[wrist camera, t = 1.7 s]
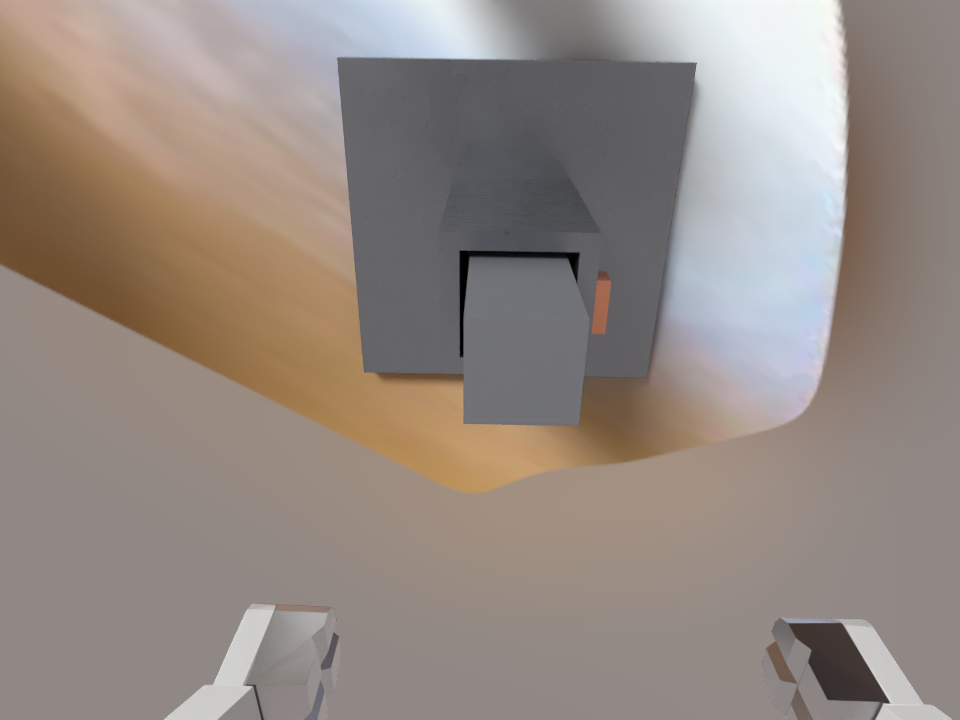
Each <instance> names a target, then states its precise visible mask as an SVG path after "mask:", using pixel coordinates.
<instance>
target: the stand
mask: <svg viewBox="0 0 960 720" xmlns="http://www.w3.org/2000/svg"><path fill="white" fill-rule="evenodd" d="M337 60H338V72H339V84H340V95H341V107H342V119H343V131H344V142H345V154H346V166H347V178H348V189H349V201H350V213H351V225H352V236H353V248H354V260H355V272H356V283H357V295H358V307H359V319H360V330H361V342H362V354H363V365H364V372H375V373H428V374H464V309H465V299H466V289H467V279H468V269H469V259H470V251H525V252H566V255H567V258H568V260H569V263H570V266H571V269H572V272H573V274H574V277H575V280H576V283H577V286H578V288H579V291H580V294H581V297H582V300H583V302H584V305H585V308H586V311H587V314H588V317H589V319H590V323H589V333H588V342H587V352H586V362H585V371H584V376H586V377H639V378H647V373H648V366H649V360H650V354H651V347H652V341H653V335H654V329H655V322H656V316H657V310H658V303H659V297H660V291H661V284H662V278H663V272H664V266H665V259H666V253H667V247H668V240H669V234H670V228H671V221H672V215H673V209H674V202H675V196H676V190H677V184H678V177H679V171H680V165H681V158H682V152H683V146H684V139H685V133H686V127H687V120H688V114H689V108H690V102H691V95H692V89H693V83H694V76H695V70H696V64H697V63H693V62H651V61H582V60H514V59H445V58H376V57H339V58H337Z"/></svg>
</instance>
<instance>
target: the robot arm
mask: <svg viewBox="0 0 960 720" xmlns="http://www.w3.org/2000/svg"><path fill="white" fill-rule="evenodd" d="M336 621H337V619H336V613H335V608H333V607H320V606H302V605H283V604H256V603H255V604H254V603H253V604H251V606H250V607H249V608H248V609H247V610H246V612H245V614H244V616H243V619H242V621H241V623H240V625H239V628H238V630H237V633H236V634H235V637H234V639H233V641H232V643H231V646H230V648H229V650H228V652H227V655H226V657H225V659H224V661H223V664H222V666H221V668H220V670H219V673H218V675H217V677H216V679H215V682H214V684H213V685H204V686H203V687H202V688H200V689H199V690H198V691H197V692H196V693H195V694H193V695H192V696H191V697H190V698H189V699H187V700H186V701H185V702H184V703H183V704H182V705H180V706H179V707H178V708H177V709H176V710H174V711H173V712H172V713H171V714H170V715H169V716H167V717H166V718H165V719H164V720H327V718H328V710H327V703H326V699H327V698H328V697H329V696H330V695H331V694H332V693H333V692H334V690H335V686H336V682H337V677H338V671H339V663H340V641H339V636H338V635H336V634H335V633H334V628H335V625H336ZM771 632H772V634H773V636H774V638H775V640H776V641H775V642H774V643H772V644H771V645H769V646H768V647H767V648H766V649H765V653H764V657H763V660H762V666H763V678H764V683H765V687H766V690H767V692H768V695H769V698H770V700H771V703H772V704H773V705H774V706H775V707H776V708H778V709H779V710H780V711H781V712H782V713H783V714H784V715H785V716H786V717H785V720H952V719H950V718H949V717H948V716H946V715H945V714H944V713H942V712H941V711H940V710H938V709H937V708H936V707H934V706H933V705H924V704H923V703H922V701H921V700H920V698H919V697H918V695H917V694H916V692H915V691H914V689H913V688H912V686H911V685H910V683H909V681H908V680H907V678H906V677H905V676H904V674H903V672H902V671H901V669H900V668H899V666H898V665H897V663H896V662H895V660H894V659H893V657H892V656H891V654H890V653H889V651H888V650H887V648H886V647H885V645H884V644H883V642H882V640H881V639H880V637H879V636H878V634H877V633H876V631H875V630H874V628H873V627H872V625H871V624H869V623H868V622H867V621H865V620H852V619H832V618H779V619H778V620H777V621H776V622H775V623H774V626H773V629H772V631H771Z"/></svg>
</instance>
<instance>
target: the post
mask: <svg viewBox="0 0 960 720" xmlns="http://www.w3.org/2000/svg"><path fill="white" fill-rule="evenodd" d="M589 323H590V319H589V317H588V314H587V311H586V308H585V305H584V302H583V300H582V297H581V294H580V291H579V288H578V286H577V283H576V280H575V277H574V274H573V272H572V269H571V266H570V263H569V260H568V258H567V255H566V252H525V251H470V259H469V269H468V279H467V289H466V299H465V309H464V424H503V425H554V426H579V419H580V410H581V400H582V390H583V381H584V371H585V362H586V352H587V342H588V333H589Z"/></svg>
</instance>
